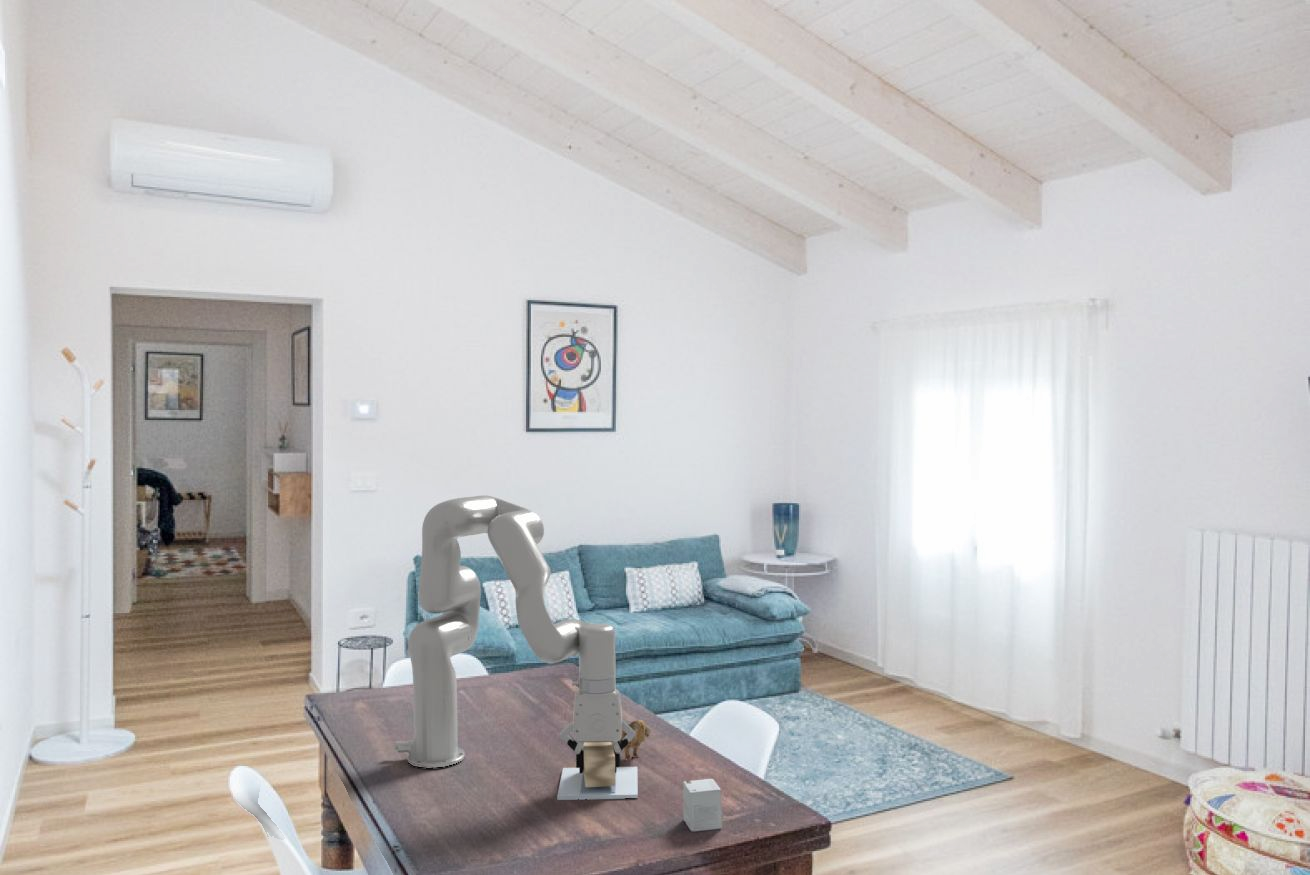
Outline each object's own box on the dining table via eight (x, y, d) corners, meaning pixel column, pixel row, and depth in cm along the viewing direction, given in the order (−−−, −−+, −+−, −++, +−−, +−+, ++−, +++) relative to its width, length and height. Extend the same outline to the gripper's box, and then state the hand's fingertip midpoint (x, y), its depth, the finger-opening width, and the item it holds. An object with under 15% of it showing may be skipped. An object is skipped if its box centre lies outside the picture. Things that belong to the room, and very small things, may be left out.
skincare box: (722, 829, 182) (722, 789, 181) (690, 832, 180) (690, 792, 180) (713, 816, 187) (713, 777, 187) (682, 819, 186) (682, 780, 186)
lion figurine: (654, 760, 219) (654, 720, 219) (635, 765, 216) (634, 724, 216) (617, 743, 231) (616, 705, 230) (598, 748, 227) (597, 709, 227)
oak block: (585, 787, 198) (585, 757, 197) (582, 764, 210) (582, 736, 210) (615, 785, 198) (615, 756, 198) (610, 763, 211) (610, 735, 211)
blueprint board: (557, 800, 196) (557, 795, 196) (563, 771, 212) (563, 767, 212) (637, 798, 197) (637, 793, 197) (637, 770, 213) (637, 765, 213)
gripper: (554, 690, 200) (554, 778, 200) (639, 689, 201) (640, 776, 201) (557, 680, 208) (557, 765, 208) (639, 679, 208) (639, 764, 208)
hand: (598, 770), depth 204 cm, fingers closed on oak block, 6 cm apart
